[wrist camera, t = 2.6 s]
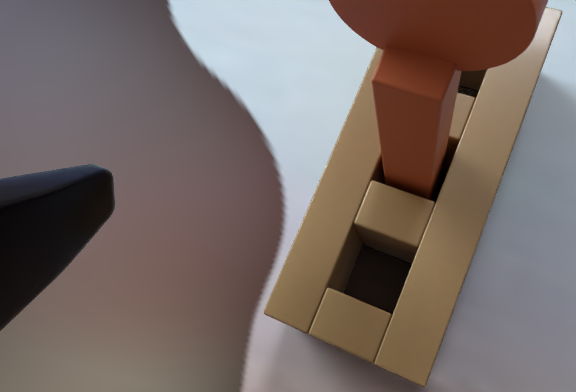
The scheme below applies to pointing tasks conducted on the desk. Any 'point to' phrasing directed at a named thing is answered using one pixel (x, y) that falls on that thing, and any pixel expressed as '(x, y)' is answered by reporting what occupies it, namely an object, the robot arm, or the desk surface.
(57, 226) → the robot arm
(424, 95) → the orange piece
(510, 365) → the desk surface
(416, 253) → the utensil rack
